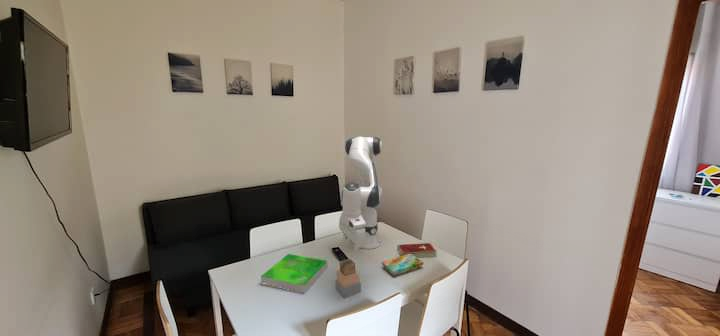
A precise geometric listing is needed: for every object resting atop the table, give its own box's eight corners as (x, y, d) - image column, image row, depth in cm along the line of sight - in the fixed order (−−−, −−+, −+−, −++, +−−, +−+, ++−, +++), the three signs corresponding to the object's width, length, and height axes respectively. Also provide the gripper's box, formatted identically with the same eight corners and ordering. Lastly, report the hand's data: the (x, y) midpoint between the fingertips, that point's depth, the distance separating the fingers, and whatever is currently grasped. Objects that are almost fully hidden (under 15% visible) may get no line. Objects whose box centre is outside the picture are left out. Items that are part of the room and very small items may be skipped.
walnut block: (340, 270, 143) (339, 261, 142) (349, 267, 145) (349, 258, 144) (345, 276, 138) (345, 266, 137) (355, 272, 141) (355, 263, 140)
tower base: (335, 288, 145) (335, 279, 144) (351, 283, 150) (351, 274, 149) (344, 298, 137) (344, 288, 137) (360, 292, 142) (360, 282, 141)
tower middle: (336, 279, 144) (336, 270, 143) (351, 274, 148) (351, 265, 147) (344, 287, 137) (343, 277, 136) (359, 282, 141) (358, 273, 140)
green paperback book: (261, 285, 149) (260, 276, 148) (288, 261, 172) (288, 253, 171) (305, 294, 141) (304, 285, 140) (327, 268, 164) (327, 260, 163)
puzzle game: (381, 260, 163) (410, 252, 172) (381, 268, 164) (410, 259, 173) (393, 270, 153) (423, 260, 162) (393, 278, 154) (423, 268, 163)
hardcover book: (397, 250, 185) (397, 244, 184) (429, 248, 187) (430, 242, 187) (402, 259, 174) (402, 253, 173) (436, 257, 176) (436, 251, 175)
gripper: (336, 211, 145) (335, 237, 148) (355, 227, 128) (354, 256, 131) (347, 209, 148) (346, 235, 151) (368, 224, 131) (367, 252, 134)
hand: (350, 245), depth 141 cm, fingers open, 8 cm apart
